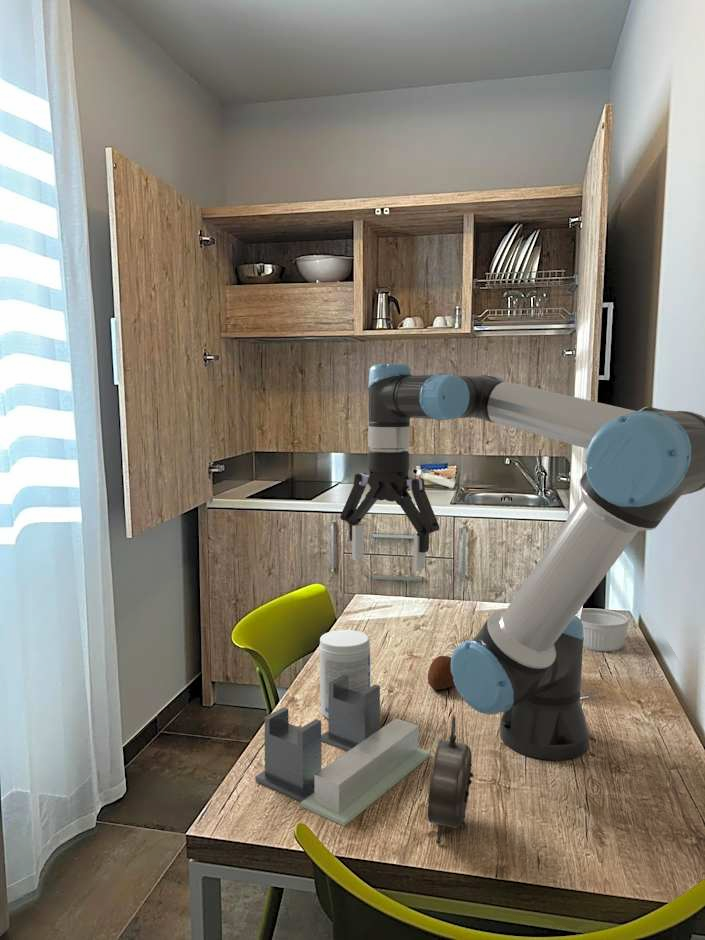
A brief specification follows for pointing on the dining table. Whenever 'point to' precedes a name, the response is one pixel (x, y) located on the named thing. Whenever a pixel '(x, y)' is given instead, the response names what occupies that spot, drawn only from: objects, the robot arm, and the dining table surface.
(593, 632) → the ramekin
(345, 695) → the post right
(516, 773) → the dining table surface
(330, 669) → the supplement tub
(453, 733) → the alarm clock
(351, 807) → the mat
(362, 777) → the rail
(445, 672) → the potato
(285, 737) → the post left
